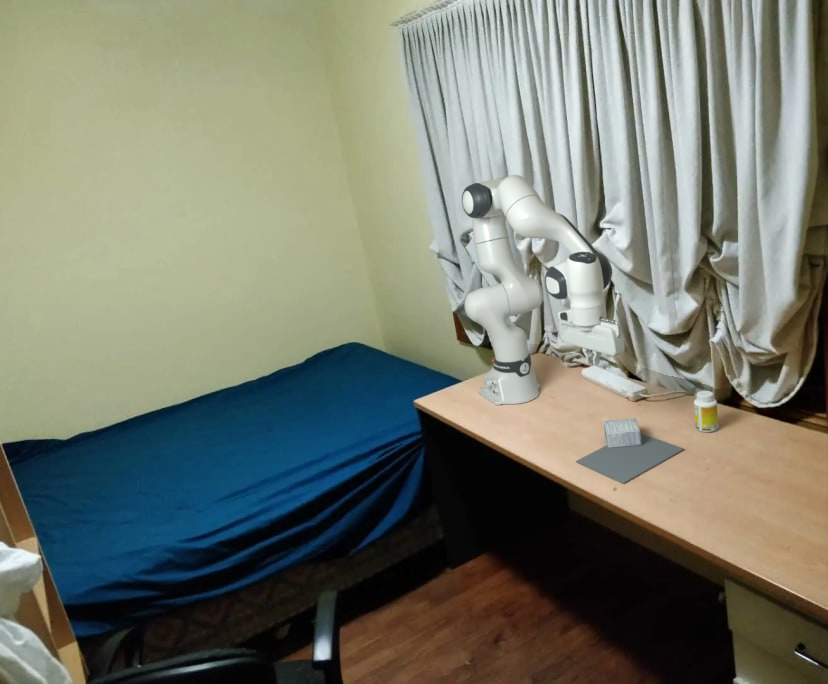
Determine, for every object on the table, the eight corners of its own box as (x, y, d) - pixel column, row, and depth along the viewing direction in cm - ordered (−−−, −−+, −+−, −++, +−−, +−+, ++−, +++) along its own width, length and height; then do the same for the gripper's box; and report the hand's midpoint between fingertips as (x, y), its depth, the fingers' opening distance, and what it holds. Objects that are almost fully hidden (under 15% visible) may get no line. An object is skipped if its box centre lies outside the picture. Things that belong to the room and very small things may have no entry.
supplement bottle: (723, 427, 168) (721, 392, 165) (709, 435, 166) (707, 399, 163) (704, 422, 173) (702, 387, 170) (690, 429, 171) (688, 394, 168)
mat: (576, 462, 165) (575, 461, 165) (634, 432, 175) (634, 430, 175) (623, 484, 152) (623, 482, 152) (684, 450, 161) (684, 448, 161)
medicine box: (607, 448, 168) (641, 445, 167) (606, 433, 167) (640, 430, 165) (604, 434, 176) (637, 432, 174) (603, 420, 175) (636, 417, 173)
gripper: (628, 317, 158) (632, 368, 162) (570, 306, 175) (575, 352, 180) (609, 324, 155) (614, 376, 159) (553, 312, 173) (558, 359, 177)
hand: (593, 363), depth 170 cm, fingers closed
